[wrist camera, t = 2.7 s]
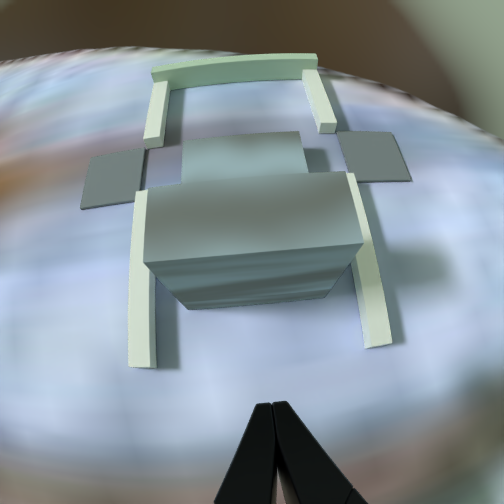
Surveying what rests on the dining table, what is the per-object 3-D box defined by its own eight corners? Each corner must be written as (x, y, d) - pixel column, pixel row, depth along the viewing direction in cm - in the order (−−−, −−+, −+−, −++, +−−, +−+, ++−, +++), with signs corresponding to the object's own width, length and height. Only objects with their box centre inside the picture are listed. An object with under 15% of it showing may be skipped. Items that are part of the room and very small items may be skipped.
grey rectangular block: (324, 298, 23) (364, 242, 14) (188, 310, 23) (143, 262, 14) (296, 149, 29) (307, 61, 19) (188, 158, 28) (164, 73, 19)
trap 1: (409, 181, 27) (410, 179, 27) (351, 182, 27) (352, 180, 27) (390, 134, 29) (391, 132, 29) (336, 133, 29) (336, 131, 29)
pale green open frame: (384, 345, 21) (401, 339, 19) (136, 367, 21) (119, 365, 18) (312, 73, 33) (315, 53, 30) (158, 86, 33) (152, 67, 30)
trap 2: (139, 201, 27) (138, 199, 26) (81, 209, 27) (79, 208, 26) (145, 149, 29) (144, 147, 29) (91, 159, 29) (90, 157, 29)
